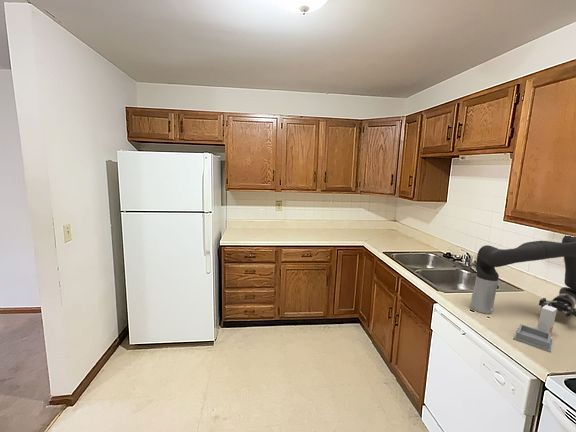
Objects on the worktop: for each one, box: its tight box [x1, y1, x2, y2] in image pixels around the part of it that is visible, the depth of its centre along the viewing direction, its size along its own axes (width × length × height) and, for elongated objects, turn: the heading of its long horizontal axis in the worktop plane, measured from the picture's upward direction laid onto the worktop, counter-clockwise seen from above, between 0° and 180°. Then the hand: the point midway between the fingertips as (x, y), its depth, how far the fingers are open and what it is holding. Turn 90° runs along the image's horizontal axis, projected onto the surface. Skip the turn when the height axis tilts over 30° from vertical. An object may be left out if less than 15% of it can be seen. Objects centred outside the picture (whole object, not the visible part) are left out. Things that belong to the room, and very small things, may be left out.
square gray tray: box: [513, 323, 553, 353], centre depth 128 cm, size 12×12×3 cm
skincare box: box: [536, 304, 558, 334], centre depth 133 cm, size 6×4×12 cm
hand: (555, 310), depth 140 cm, fingers open, 8 cm apart
